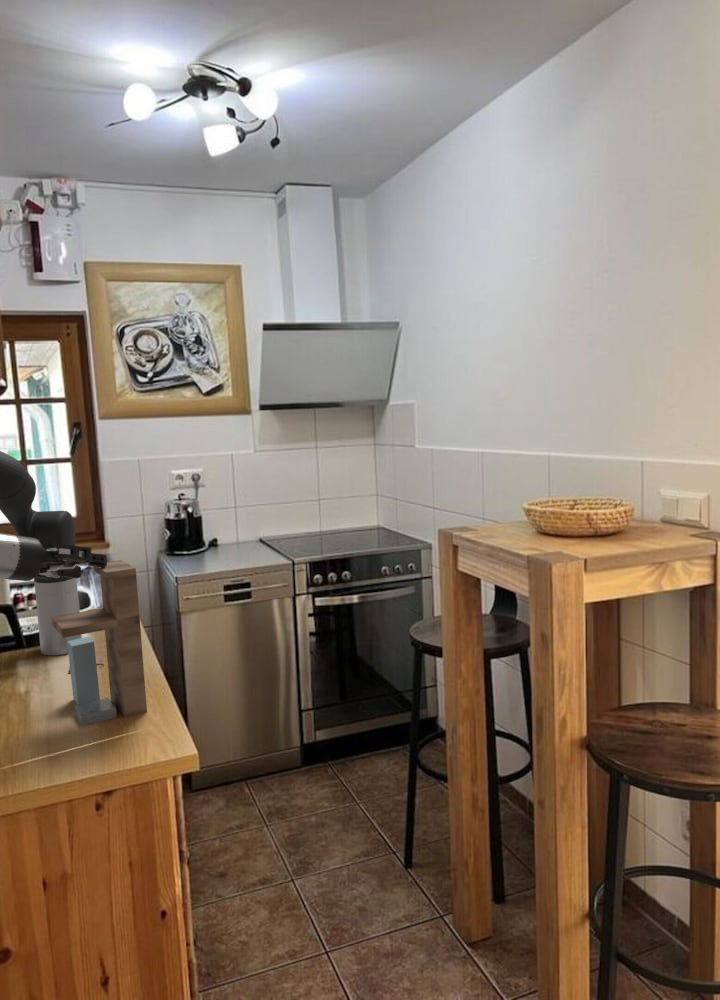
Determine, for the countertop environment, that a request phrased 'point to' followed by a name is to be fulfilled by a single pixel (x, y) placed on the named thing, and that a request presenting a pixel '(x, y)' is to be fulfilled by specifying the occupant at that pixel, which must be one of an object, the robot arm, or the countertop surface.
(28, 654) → the countertop surface
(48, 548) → the robot arm
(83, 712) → the grey square block
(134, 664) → the brown tall blocky piece
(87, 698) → the block
